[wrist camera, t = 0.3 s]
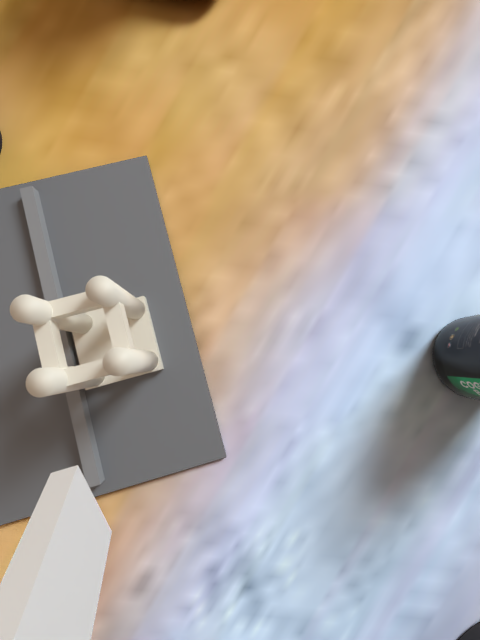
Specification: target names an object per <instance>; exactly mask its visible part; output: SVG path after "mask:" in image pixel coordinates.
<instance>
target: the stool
mask: <svg viewBox="0 0 480 640" xmlns="http://www.w3.org/2000/svg"><path fill="white" fill-rule="evenodd" d="M10 314H11V316H12V318H13V319H14V320H16V321H17V322H20V323H25V324H31V325H33V329H34V334H35V338H36V343H37V347H38V352H39V356H40V361H41V365H42V368H37V369H34V370H33V371H31V372H30V373H29V375H28V376H27V378H26V389H27V391H28V392H29V393H30V394H31V395H32V396H34V397H39V398H40V397H46V396H51V395H56V394H60V393H65V392H70V391H75V390H79V389H84V388H85V390H89V389H93V388H96V387H100V386H104V385H107V384H111V383H114V382H118V381H122V380H125V379H129V378H132V377H136V376H140V375H143V374H147V373H150V372H154V371H158V370H161V369H164V367H163V363H162V359H161V355H160V351H159V347H158V343H157V340H156V336H155V332H154V328H153V324H152V320H151V316H150V312H149V308H148V304H147V300H146V297H145V296H141V297H137V298H136V297H134V296H133V295H132V294H130V293H129V292H127V291H126V290H125V289H123V288H122V287H120V286H119V285H118V284H116V283H115V282H113V281H112V280H111V279H109V278H108V277H106V276H101V275H99V276H95V277H93V278H91V279H90V280H89V281H88V282H87V284H86V288H85V292H83V293H79V294H75V295H71V296H67V297H63V298H59V299H56V300H52V301H46V300H43V299H40V298H37V297H34V296H31V295H27V294H24V295H20V296H18V297H16V298H15V299H14V300H13V301H12V303H11V305H10ZM59 330H64V331H69V332H72V334H73V338H74V342H75V347H76V351H77V355H78V360H79V364H80V365H78V366H67V362H66V358H65V353H64V349H63V345H62V340H61V336H60V331H59Z"/></svg>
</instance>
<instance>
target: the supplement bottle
mask: <svg viewBox="0 0 480 640" xmlns="http://www.w3.org/2000/svg"><path fill="white" fill-rule="evenodd" d="M433 362H434V366H435V369H436V372H437V374H438V376H439V377H440V379H441V380H442V381H443V383H444V384H445V385H446V386H447V387H448V388H449V389H451V390H452V391H454V392H455V393H457V394H459V395H461V396H464V397H468V398H473V399H478V400H480V315H474V316H469V317H464V318H460V319H457V320H455V321H453V322H451V323H449V324H448V325H447V326H445V327H444V328H443V329H442V331H441V332H440V333H439V335H438V337H437V339H436V341H435V344H434V348H433Z"/></svg>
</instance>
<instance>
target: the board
mask: <svg viewBox="0 0 480 640" xmlns="http://www.w3.org/2000/svg"><path fill="white" fill-rule="evenodd" d="M99 275H101V276H106V277H108V278H109V279H111V280H112V281H113V282H115V283H116V284H118V285H119V286H120V287H122V288H123V289H125V290H126V291H127V292H129V293H130V294H132V295H133V296H134V297H136V298H137V297H141V296H145V297H146V300H147V304H148V308H149V312H150V316H151V320H152V324H153V328H154V332H155V336H156V340H157V343H158V347H159V351H160V355H161V359H162V363H163V367H164V369H161V370H158V371H154V372H150V373H147V374H143V375H140V376H136V377H132V378H129V379H125V380H122V381H118V382H114V383H111V384H107V385H104V386H100V387H96V388H93V389H89V390H85V388H84V389H79V390H75V391H70V392H65V393H60V394H56V395H51V396H46V397H40V398H39V397H34V396H32V395H31V394H30V393H29V392H28V391H27V389H26V378H27V376H28V375H29V373H30V372H31V371H33V370H34V369H37V368H42V365H41V361H40V356H39V352H38V347H37V343H36V338H35V334H34V329H33V325H31V324H25V323H20V322H17V321H16V320H14V319H13V318H12V316H11V314H10V305H11V303H12V301H13V300H14V299H15V298H16V297H18V296H20V295H24V294H27V295H31V296H34V297H37V298H40V299H43V300H46V301H52V300H56V299H59V298H63V297H67V296H71V295H75V294H79V293H83V292H85V288H86V284H87V282H88V281H89V280H90V279H91V278H93V277H95V276H99ZM59 331H60V336H61V340H62V345H63V349H64V353H65V358H66V362H67V366H78V365H80V364H79V360H78V355H77V351H76V347H75V342H74V338H73V334H72V332H69V331H64V330H59ZM225 457H226V453H225V449H224V445H223V442H222V438H221V434H220V430H219V426H218V423H217V419H216V415H215V411H214V408H213V404H212V400H211V396H210V393H209V389H208V385H207V381H206V377H205V374H204V370H203V366H202V362H201V359H200V355H199V351H198V347H197V343H196V340H195V336H194V332H193V328H192V325H191V321H190V317H189V313H188V310H187V306H186V302H185V298H184V294H183V291H182V287H181V283H180V279H179V276H178V272H177V268H176V264H175V261H174V257H173V253H172V249H171V245H170V242H169V238H168V234H167V230H166V227H165V223H164V219H163V215H162V212H161V208H160V204H159V200H158V196H157V193H156V189H155V185H154V181H153V178H152V174H151V170H150V166H149V163H148V159H147V156H142V157H138V158H133V159H129V160H125V161H120V162H116V163H111V164H107V165H103V166H98V167H94V168H89V169H85V170H81V171H76V172H72V173H68V174H63V175H59V176H54V177H50V178H46V179H41V180H37V181H33V182H28V183H24V184H19V185H15V186H11V187H6V188H2V189H0V525H3V524H7V523H10V522H13V521H17V520H20V519H23V518H27V517H30V516H32V513H33V511H34V509H35V507H36V505H37V502H38V500H39V498H40V496H41V494H42V491H43V489H44V487H45V485H46V483H47V480H48V478H49V476H50V474H51V473H52V472H56V471H59V470H63V469H66V468H69V467H73V466H76V465H78V466H79V468H80V470H81V472H82V474H83V476H84V478H85V480H86V482H87V484H88V486H89V488H90V490H91V492H92V494H93V495H94V497H96V496H99V495H103V494H106V493H109V492H113V491H116V490H119V489H123V488H126V487H129V486H132V485H136V484H139V483H142V482H146V481H149V480H152V479H156V478H159V477H162V476H166V475H169V474H172V473H175V472H179V471H182V470H185V469H189V468H192V467H195V466H199V465H202V464H205V463H209V462H212V461H215V460H218V459H222V458H225Z"/></svg>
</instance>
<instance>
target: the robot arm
mask: <svg viewBox="0 0 480 640" xmlns="http://www.w3.org/2000/svg"><path fill="white" fill-rule="evenodd" d="M111 533H112V531H111V529H110V527H109V525H108V523H107V521H106V519H105V517H104V515H103V513H102V511H101V509H100V507H99V505H98V503H97V501H96V499H95V497H94V495H93V494H92V492H91V490H90V488H89V486H88V484H87V482H86V480H85V478H84V476H83V474H82V472H81V470H80V468H79V466H78V465H76V466H73V467H69V468H66V469H63V470H59V471H56V472H52V473H51V474H50V476H49V478H48V480H47V483H46V485H45V487H44V489H43V491H42V494H41V496H40V498H39V500H38V502H37V505H36V507H35V509H34V511H33V513H32V516H31V518H30V520H29V522H28V524H27V527H26V529H25V531H24V533H23V535H22V537H21V540H20V542H19V544H18V546H17V548H16V551H15V553H14V555H13V557H12V559H11V562H10V564H9V566H8V568H7V570H6V573H5V575H4V577H3V579H2V581H1V584H0V640H91V636H92V631H93V626H94V621H95V615H96V610H97V605H98V600H99V595H100V590H101V585H102V580H103V574H104V569H105V564H106V559H107V554H108V549H109V544H110V538H111ZM459 640H480V622H479V623H478V624H476V625H475V626H473V627H472V628H471V629H469V630H468V631H467V632H466V633H465V634H464V635H463V636H462V637H461V638H460V639H459Z"/></svg>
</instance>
